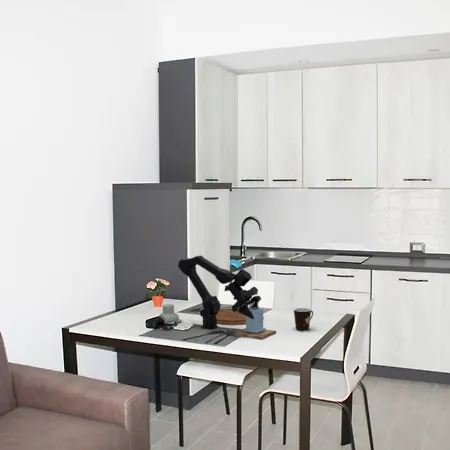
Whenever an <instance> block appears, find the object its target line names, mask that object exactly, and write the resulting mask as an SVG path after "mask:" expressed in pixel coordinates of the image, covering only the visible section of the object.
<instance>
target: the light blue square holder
mask: <svg viewBox="0 0 450 450" xmlns="http://www.w3.org/2000/svg"><path fill="white" fill-rule="evenodd" d="M248 309H249V310H250V312H251V313H252V315H253V317H254V319H251V318H249V317H247V316H246V325H245V327H244V328H245V329H244V328H243V329H244V331H247V332H253V333H259V332H261V331H264V330H267V329H266V327H264V319H263V317H264V308H262V307H261V308H260V307H259V308H255V307H252V308H250V307H248Z"/></svg>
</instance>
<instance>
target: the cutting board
mask: <svg viewBox="0 0 450 450" xmlns="http://www.w3.org/2000/svg"><path fill="white" fill-rule="evenodd" d="M238 311H239V308H238ZM238 311H237V312H233V311H232V308H225V309H224V308H223V309H220V310H219V311H218V314H216V318H217V325H220V326H221V325H222V326H246V316H245V315H243V314H241V313H238ZM263 320H264V316H263Z"/></svg>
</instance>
